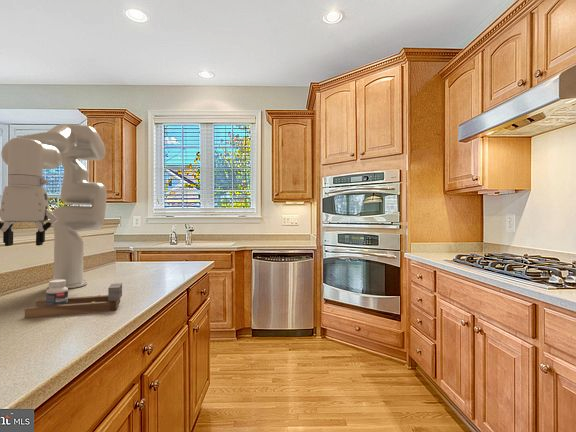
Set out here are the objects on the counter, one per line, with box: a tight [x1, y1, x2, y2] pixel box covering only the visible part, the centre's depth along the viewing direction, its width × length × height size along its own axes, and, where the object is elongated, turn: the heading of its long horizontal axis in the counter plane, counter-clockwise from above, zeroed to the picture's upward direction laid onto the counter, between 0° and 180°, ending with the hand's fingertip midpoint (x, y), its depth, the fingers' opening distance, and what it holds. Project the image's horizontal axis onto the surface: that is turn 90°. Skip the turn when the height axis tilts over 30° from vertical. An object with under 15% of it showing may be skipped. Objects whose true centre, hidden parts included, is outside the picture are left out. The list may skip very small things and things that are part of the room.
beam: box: [24, 282, 123, 319], centre depth 94 cm, size 10×23×6 cm, turn 111°
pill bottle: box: [45, 279, 69, 306], centre depth 92 cm, size 5×5×9 cm
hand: (24, 244), depth 89 cm, fingers open, 6 cm apart
